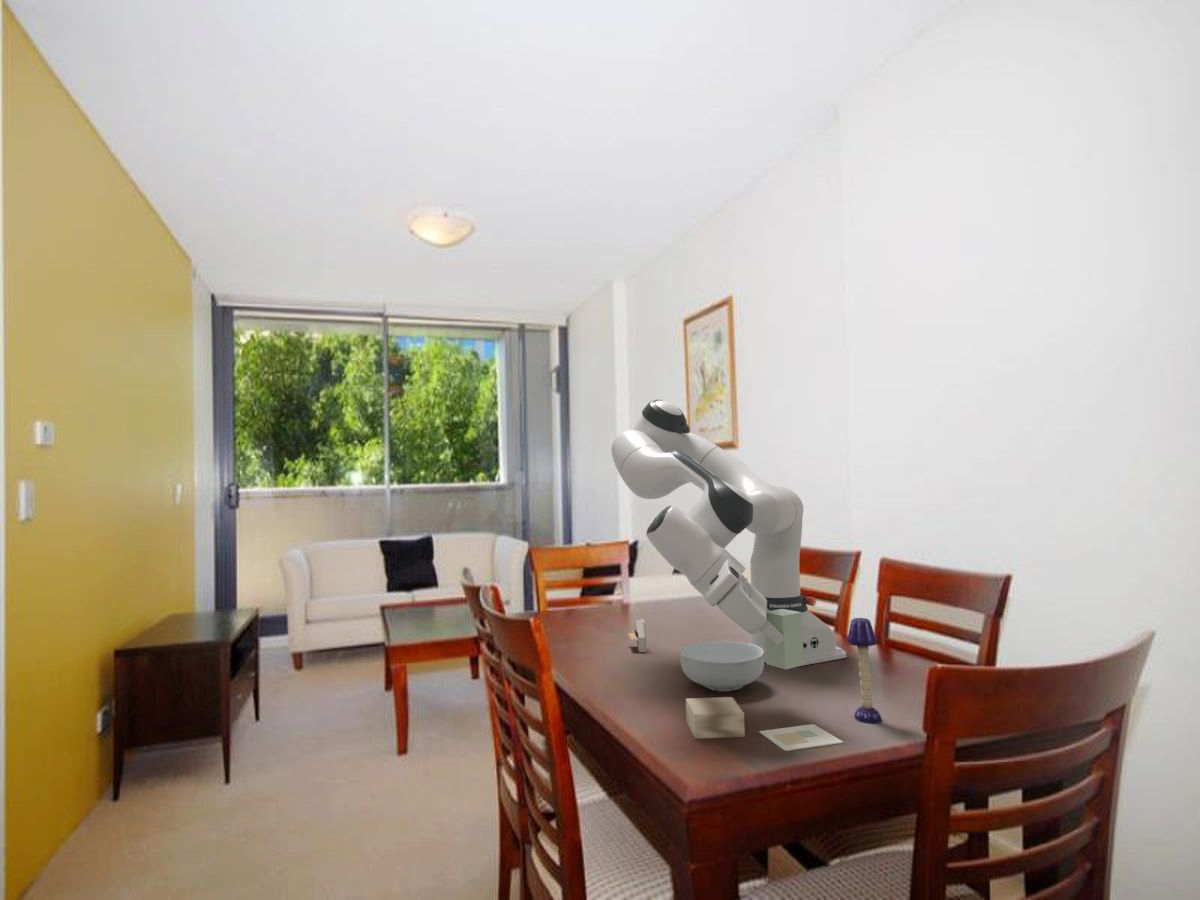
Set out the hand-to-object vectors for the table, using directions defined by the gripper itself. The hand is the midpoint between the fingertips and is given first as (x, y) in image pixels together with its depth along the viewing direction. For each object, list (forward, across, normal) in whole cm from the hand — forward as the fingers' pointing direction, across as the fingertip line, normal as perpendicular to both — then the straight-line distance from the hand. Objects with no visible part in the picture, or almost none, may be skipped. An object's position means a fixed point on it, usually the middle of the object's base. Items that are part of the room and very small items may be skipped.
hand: (781, 636), depth 117 cm
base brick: (+2, +8, -18) cm, 20 cm away
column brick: (+4, 0, -3) cm, 5 cm away
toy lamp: (+19, -1, -1) cm, 19 cm away
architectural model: (-14, -41, -33) cm, 55 cm away
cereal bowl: (+1, -15, -18) cm, 24 cm away
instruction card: (+11, +10, -8) cm, 17 cm away
